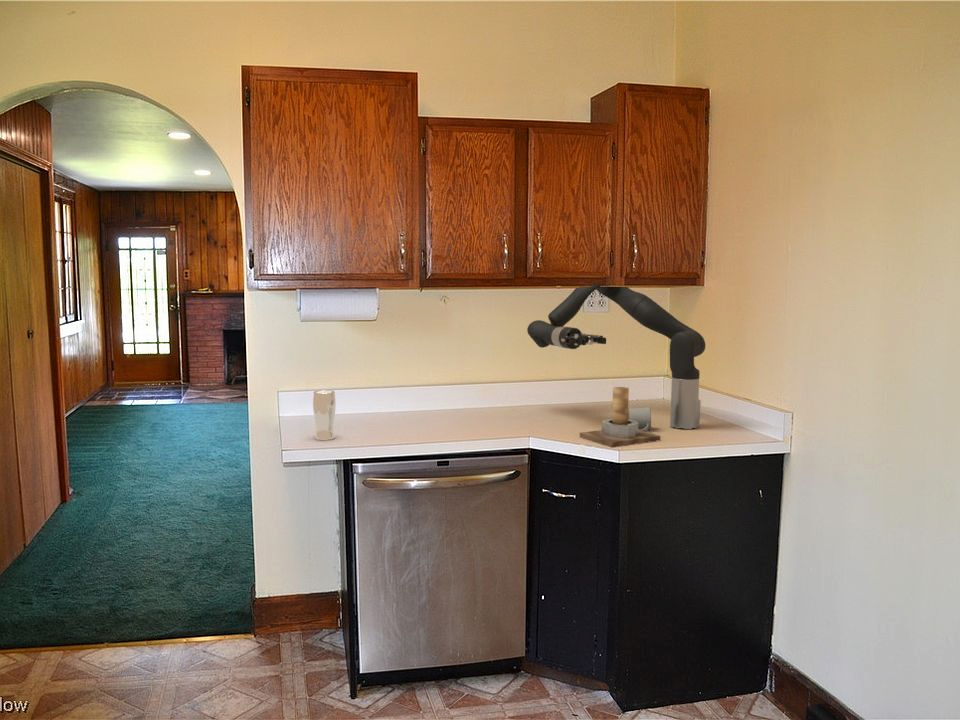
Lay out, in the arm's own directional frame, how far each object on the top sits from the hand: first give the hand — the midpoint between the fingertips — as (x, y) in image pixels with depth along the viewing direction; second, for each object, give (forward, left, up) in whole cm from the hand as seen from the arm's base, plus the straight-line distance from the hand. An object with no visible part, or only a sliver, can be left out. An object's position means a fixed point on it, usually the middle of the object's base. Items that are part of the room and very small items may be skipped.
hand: (595, 341), depth 266 cm
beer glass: (+85, -30, -30) cm, 95 cm away
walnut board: (+2, +16, -30) cm, 34 cm away
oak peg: (+2, +16, -28) cm, 33 cm away
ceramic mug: (-13, +9, -30) cm, 34 cm away
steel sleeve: (+2, +16, -28) cm, 33 cm away
